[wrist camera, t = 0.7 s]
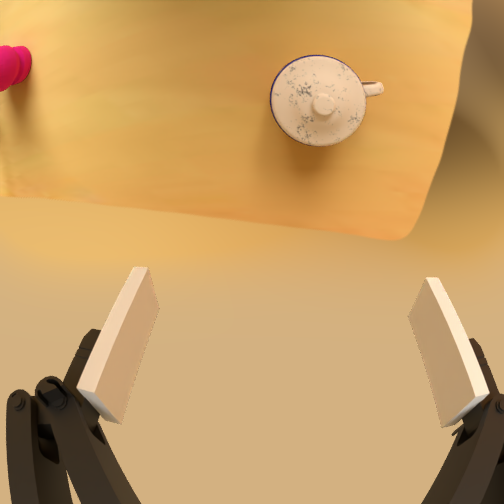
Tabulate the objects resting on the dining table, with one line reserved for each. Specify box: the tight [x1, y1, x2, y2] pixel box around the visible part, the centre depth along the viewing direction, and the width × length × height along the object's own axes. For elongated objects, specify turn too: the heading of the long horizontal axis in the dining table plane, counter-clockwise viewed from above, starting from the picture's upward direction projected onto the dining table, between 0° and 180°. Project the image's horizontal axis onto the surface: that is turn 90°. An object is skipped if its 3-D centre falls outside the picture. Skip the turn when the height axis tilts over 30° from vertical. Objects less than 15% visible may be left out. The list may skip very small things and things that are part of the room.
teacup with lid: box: [270, 55, 384, 147], centre depth 27 cm, size 12×9×12 cm
